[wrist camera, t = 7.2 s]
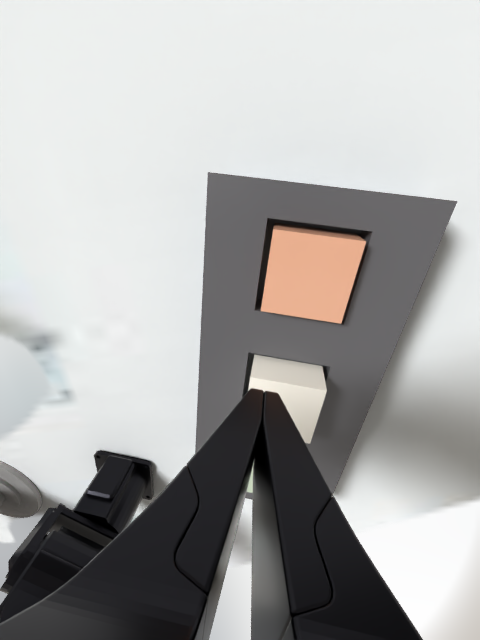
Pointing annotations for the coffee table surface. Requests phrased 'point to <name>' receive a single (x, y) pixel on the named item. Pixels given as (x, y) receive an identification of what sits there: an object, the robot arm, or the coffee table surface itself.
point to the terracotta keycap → (311, 272)
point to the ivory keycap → (292, 389)
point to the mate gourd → (17, 493)
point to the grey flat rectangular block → (302, 333)
